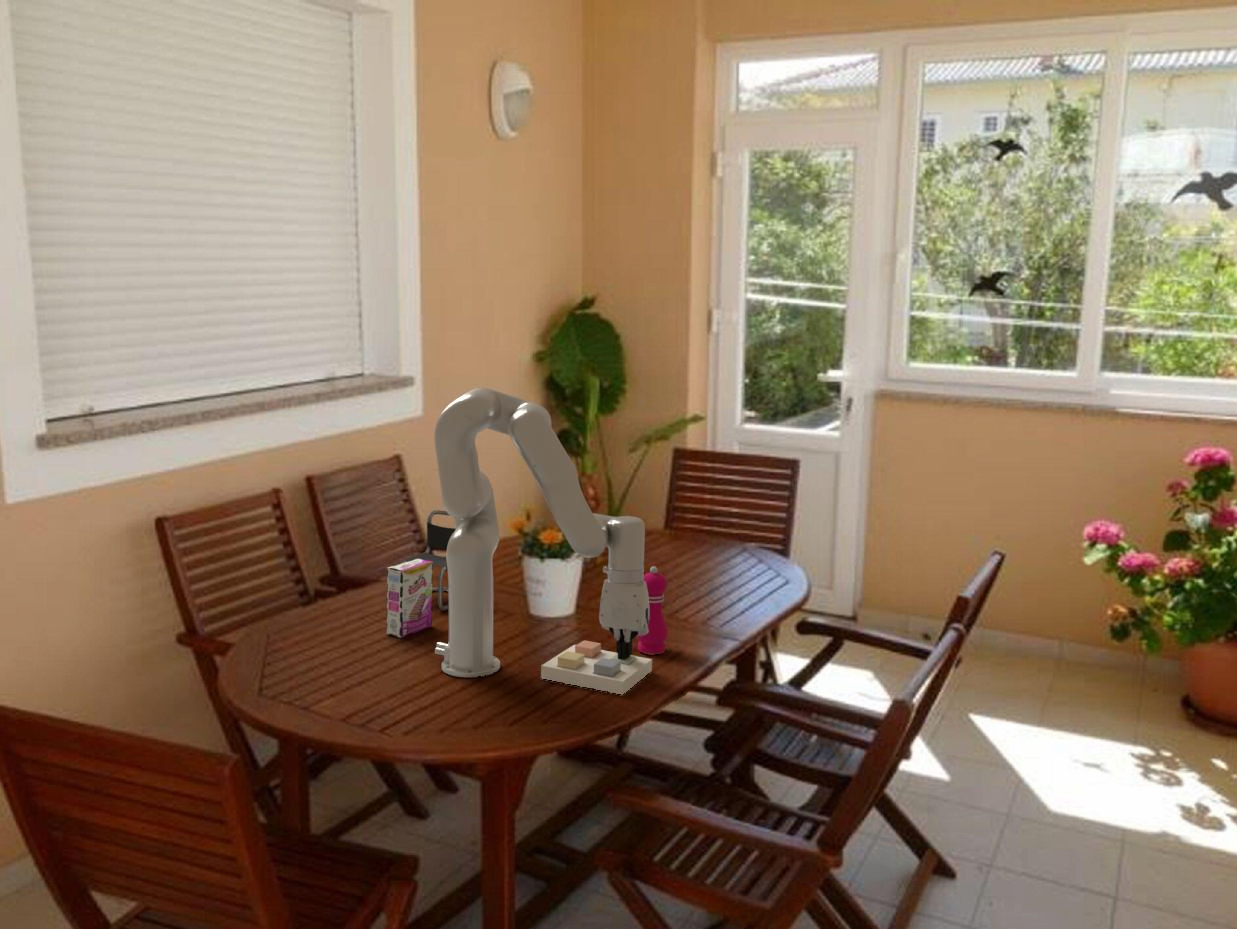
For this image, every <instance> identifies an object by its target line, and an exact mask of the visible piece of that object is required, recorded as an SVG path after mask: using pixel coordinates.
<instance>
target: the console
mask: <svg viewBox="0 0 1237 929" xmlns="http://www.w3.org/2000/svg"><path fill="white" fill-rule="evenodd" d="M576 645H577V644H573V645H571V646H570V647H568V648H566V649H565V650H564V651H562V652H561V653H559V654H557V655H555V656H554V657H553V658H551V659H550V660H548V661H546V662H545V663H543V664H541V666H540V667H541V668H540V669H541V670H540V679H541V678H542V679H541V680H543V679H547V680H546V681H548V680H552V681H551V682H553V681H557V682H563V683H565V684H564V685H567V684H571V685H570V686H572V685H577V686H580V687H579V688H582V687H587V688H594V689H596V690H595V691H597V690H601V691H600V692H602V691H608V692H610V693H609V694H612V693H616V694H615V695H617V694H621V695H620V696H622V695H623V694H624V693H625V694H626V692H627V691H628V690H629V691H630V690H631V689H630V688H632V687H633V686H634V685H635V684H637V682H639V681H640V680H641V679H643V678H644V677H645V676H646V675H647V674H648V673H650V672H651V671H652V672H653V670H652V669H653V658H648V657H642V656H637V655H635V656H636V660H635V661H634V662H633V663H631V664H630V665H624V664H621V672H619V673H618V674H617V675H615V676H614V677H608V676H602V675H597V674H594V664H595V663H596V662H598V661H599V660H600V659H602V658H606V659H611V658H612V657H613V656H615V655H616V654H618V653H617V652H616V651H610V650H609V651H608V650H604V649H601V653H600V654H599V655H598V656H596V657H595V658H593V659H592V658H587V657H584V665H583V666H581V667H580V668H579V669H577V670H572V669H567V668H562V667H558V657H559V656H560V655H562V654H563V653H565V652H566V651H569V652H574V653H575V646H576ZM650 674H651V673H650ZM645 678H646V677H645ZM645 678H644V679H645ZM644 679H643V680H644ZM557 682H556V683H557ZM640 682H641V681H640ZM640 682H639V683H640ZM637 685H638V684H637ZM577 686H576V687H577ZM635 686H636V685H635ZM635 686H634V687H635ZM634 687H633V688H634ZM587 688H586V689H587ZM633 688H632V689H633ZM629 691H628V692H629ZM628 692H627V693H628ZM625 694H624V695H625ZM624 695H623V696H624Z"/></svg>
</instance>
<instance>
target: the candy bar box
mask: <svg viewBox="0 0 1237 929" xmlns="http://www.w3.org/2000/svg"><path fill="white" fill-rule="evenodd" d="M401 563H402V562H401ZM401 563H398V564H396V565H392V566H389V567H388V566H387V567H386V635H389V636H392V637H395V638H399V639H402V638H404V637H407V636H408V637H409V635H414V634H415V633H418V632H419V631H423V630H426V629H428V628H431V627H432V626H433V592H432V588H433V577H434V576H433V569H434V568H433V567H434V566H433V562H432V561H427V560H422V559H415V560H412V561H408V562H405V563H402V564H401Z"/></svg>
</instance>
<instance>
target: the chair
mask: <svg viewBox="0 0 1237 929" xmlns="http://www.w3.org/2000/svg"><path fill="white" fill-rule="evenodd" d="M434 515H441V516H449V517H451V516H450V515H449V514H448V513H447V511H446V510H439V509H438V510H437V509H435V510H432V511H431V512H429V514H428V516H427V520H426V550H425V551H424V552H422V553H419V554H417V555H415V556H412V557H409V558H407V559H405V560H403V561H401V563H400V564H402V563H405V562H408V561H412V560H415V559H422V560H427V561H432V562H433V567H441V568H440V570H439V573H438V576H437V578H438V579H437V582H438V583H437V587H436V586H435V587H432V593H434V592H433V591H435V592H438V594H437V595H438V596H437V600H438V601H437V602H438V607H439V609H440V610H441V611H444V612H445V611H447V610H449V603H448V604H446V605H444V602H443V601H444V600H443V594H444V593H443V592H444V591H447V592H446V593H448V587H444V586H443V582H444V581H443V580H444V578H443V577H444V574H445V571H448V570H447V559H446V556H440V555H435V554H432V553H431V550H432V548H433V549H437V550H442V551H447V545H448V542H449V539H450V537H451V536H452V534H453V533H454V532H455V530H456V528H454V527H453V528H451V527H444V526H441V525H436V524H432V522H433V521H432V519H433V517H434Z"/></svg>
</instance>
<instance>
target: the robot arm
mask: <svg viewBox="0 0 1237 929" xmlns="http://www.w3.org/2000/svg"><path fill="white" fill-rule="evenodd" d="M486 429H488V430H490V431H495V432H497V433H501V434H504V435H507V436H509V437H510V440H511V441H512V443H513V445H514V447H515V448H516V450H517V452H518V453H519V455H520V456H521V458H522V459H523V461H524V463H525V465H526V466H527V467H528V470H529V471H530V474H531V475H532V476H533V478H534V480H535V481H536V484H537V485H538V486H539V489H540V491H541V493H542V494H541V495H542V496H543V498H544V500H545V502H546V504H547V505H548V508H549V510H550V511H551V514H552V516H553V518H554V519H555V522H556V524H557V526H558V527H559V529H560V530H561V532H562V535H563V536H564V537H565V539H566V541H567V543H568V544H569V545H570V547H571V549H572V550H573V551H574V552H575V553H576V554H578V555H579V557H582V558H586V559H592V558H596V557H598V556H600V555H601V554H603V552H604V551H605V549H606V548H607V549H608V565H607V566H603V568H602V572H603V573H606V574H607V576H606V577H607V578H606V579H604V580H603V586H602V590H601V595H600V602H599V614H598V615H599V617H598V618H599V619H598V620H599V623H600V626H601V628H602V629H604V630H606V631H609V632H610V633H611V635H613V639H614V640H615V641H616V647H615V648H616V651H615V652H616V653H618V659H622V660H625V659H627V658H628V657H630V655H632V654H633V640H634V639H635V638H636V637H637V636H638V635H646V634H647V633H648V632H649V630H648V624H649V596H648V589H647V584H646V582H645V581H644V575H645V574H644V572H645V543H646V542H645V540H646V526H645V522H644V521H643V519H641V518H640V517H637V516H633V515H632V516H631V515H623V516H611V515H606V514H600V513H593V511H592V510H591V508H590V506H589V504H588V501H587V500H586V498H585V495H584V493H583V491H582V488H581V484H580V480H579V476H578V471H577V469H576V466H575V465H574V463H573V461H572V460H571V458H570V456H569V455H568V452H567V451H566V450H565V447H564V446H563V445H562V443H561V441H560V439H559V437H558V436H557V433H556V432H555V431H554V429H553V427H552V418H551V415H550V413H549V411H548V409H546V408H545V407H544V406H542V405H540V404H537V403H535V402H532V401H529V400H525V399H522V398H519V397H517V396H514V395H509V394H507V393H503V392H502V391H501V392H500V391H497V390H494V389H490V388H487V387H486V388H485V387H477V388H473V389H471V390H469V391H467V392H465V393H464V394H462V395H461V396H459V397H457V398H456V399H454V400H453V401H452V402H451V403H449V405H447V407H445V409H444V410H443V411H442V412H441V413H440V415H439V417H438V419H437V420H436V423H435V428H434V436H433V437H434V447H435V455H436V462H437V469H438V470H437V471H438V478H439V485H440V491H441V499H442V505H443V507H444V509H445V510H444V511H447V513H448V514H449V515H450V516H449V517H452V518H453V521H454V527H455V528H456V530H455V532H454V533H453V534H452V536H451V537H450V539H449V542H448V545H447V550H446V554H445V555H446V556H445V557H446V559H447V570H446V571H447V583H448V587H447V588H448V592H447V593H448V604H449V609H448V643H447V642H442V641H438V642H436V646H435V649H434V654H435V655H442V656H443V658H444V659H443V660H442V661H441V665H440V666H441V670H442V672H443V673H445V674H448V675H449V676H452V677H457V678H479V677H478V676H481V677H485V675H486V676H489V675H492V674H495V673H496V672H498V671H499V670H500V668H501V661H500V659H499V658H498V657H496V656H494V573H493V558H494V557H493V555H494V553H495V552H496V549H497V548H498V544H499V542H500V530H499V523H498V516H497V508H496V502H495V501H496V500H495V496H494V491H493V489H494V488H493V486H492V483H491V481H490V479H489V478H488V476H487V475H486V474H485V473H484V472H482V471H481V470H480V465H479V464H480V463H479V456H478V454H479V453H478V450H477V446H476V438H477V435H478V434H479V433H481V432H483V431H485V430H486ZM494 672H495V673H494Z"/></svg>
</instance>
